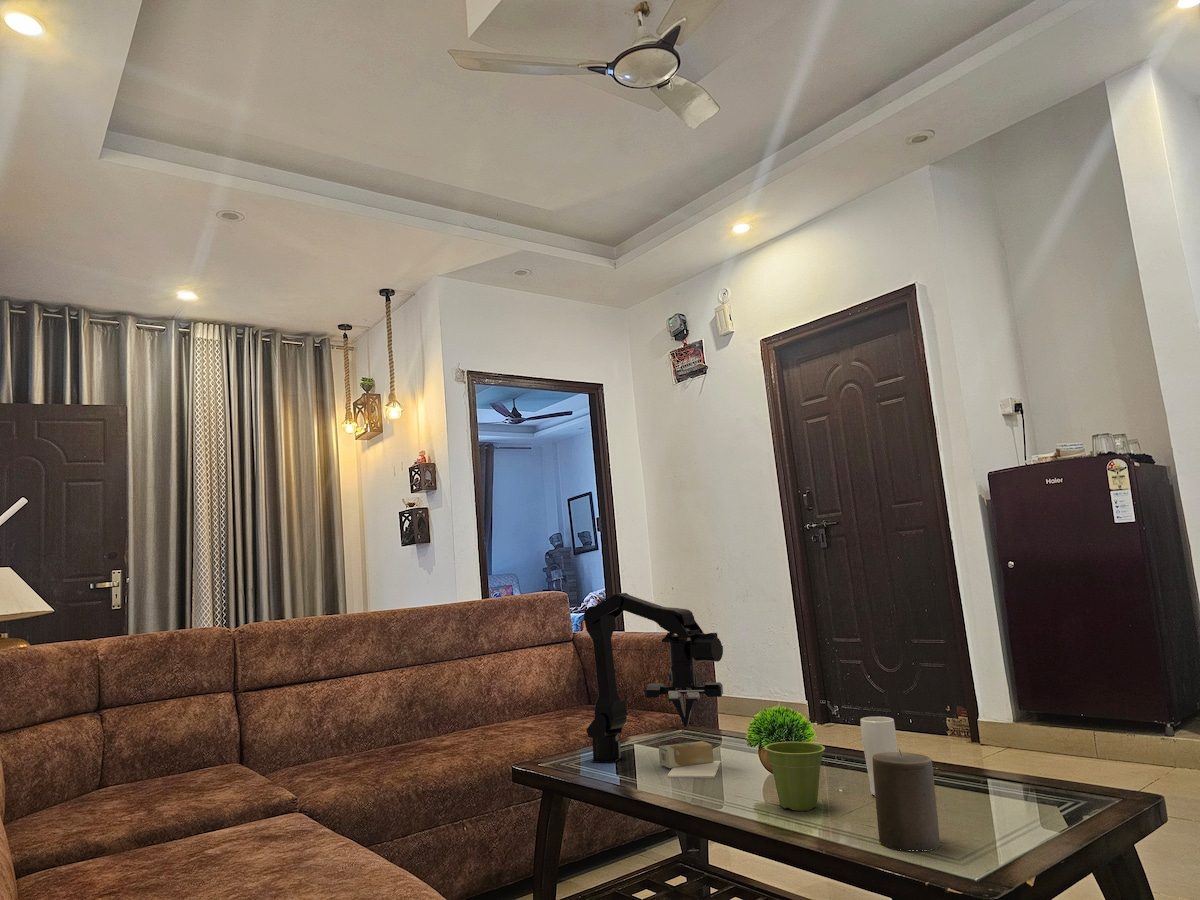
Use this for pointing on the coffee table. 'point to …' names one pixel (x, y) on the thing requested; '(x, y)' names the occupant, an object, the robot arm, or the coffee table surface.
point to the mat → (696, 770)
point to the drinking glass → (877, 740)
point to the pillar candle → (905, 801)
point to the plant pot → (796, 773)
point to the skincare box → (685, 754)
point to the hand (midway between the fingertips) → (686, 726)
